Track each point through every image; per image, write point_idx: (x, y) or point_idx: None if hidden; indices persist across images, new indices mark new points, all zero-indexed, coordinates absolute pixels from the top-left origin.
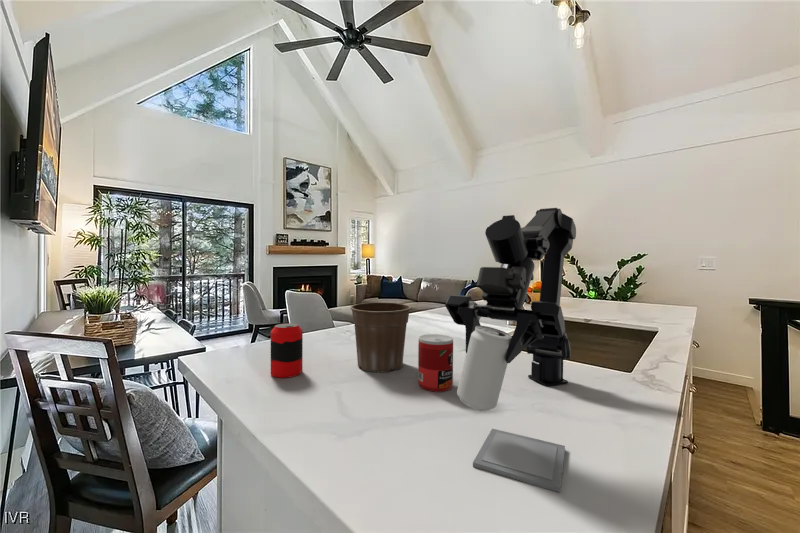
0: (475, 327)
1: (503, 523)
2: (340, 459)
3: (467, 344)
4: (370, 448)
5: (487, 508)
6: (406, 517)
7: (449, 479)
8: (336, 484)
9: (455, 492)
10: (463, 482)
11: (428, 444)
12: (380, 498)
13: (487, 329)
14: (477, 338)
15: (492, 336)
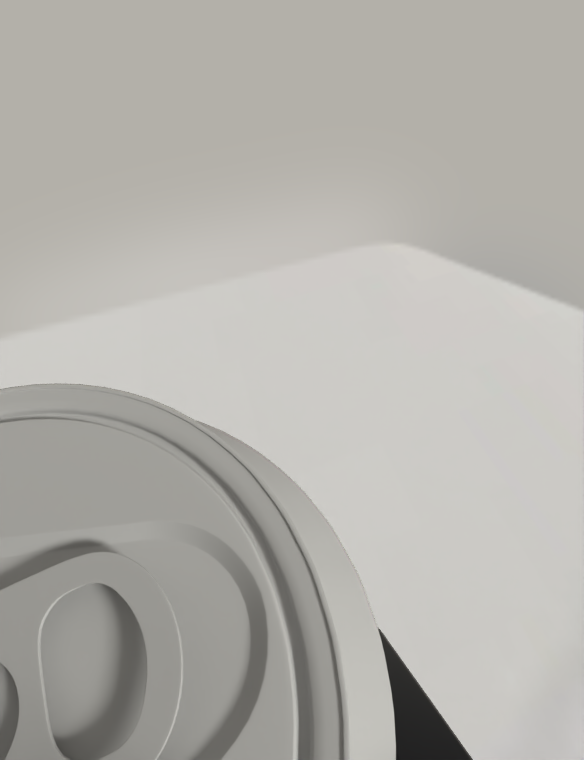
0: (335, 629)
1: (124, 313)
2: (563, 389)
3: (395, 677)
4: (538, 464)
5: (160, 342)
6: (317, 276)
7: (269, 408)
8: (497, 311)
9: (242, 367)
10: (230, 408)
11: (392, 563)
12: (390, 303)
13: (73, 757)
14: (240, 441)
15: (15, 388)
